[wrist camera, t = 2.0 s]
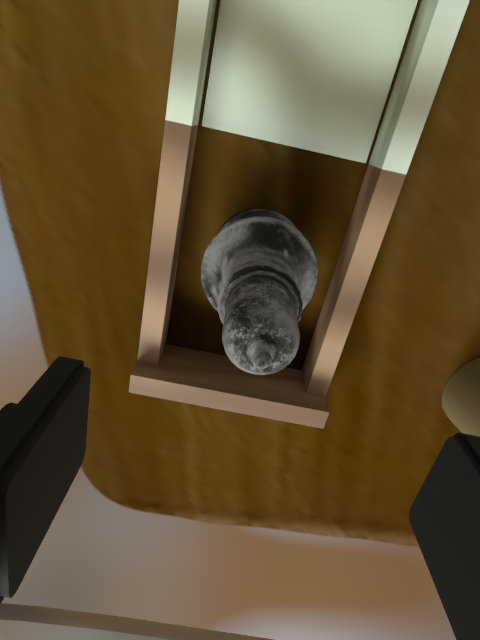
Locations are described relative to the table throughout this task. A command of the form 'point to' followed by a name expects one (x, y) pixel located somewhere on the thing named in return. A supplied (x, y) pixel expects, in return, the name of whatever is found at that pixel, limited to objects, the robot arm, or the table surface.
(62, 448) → the robot arm
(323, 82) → the bay
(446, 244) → the table surface
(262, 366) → the grey chess piece
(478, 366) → the cork
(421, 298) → the table surface
